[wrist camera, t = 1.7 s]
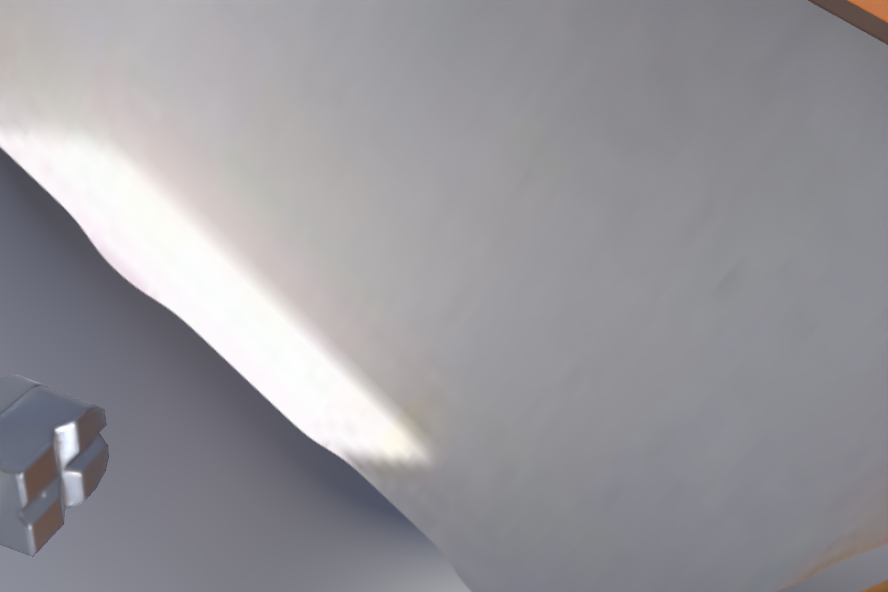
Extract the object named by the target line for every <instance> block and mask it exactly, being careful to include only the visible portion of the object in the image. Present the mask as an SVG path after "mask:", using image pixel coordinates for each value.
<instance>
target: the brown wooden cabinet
mask: <svg viewBox="0 0 888 592" xmlns="http://www.w3.org/2000/svg"><path fill="white" fill-rule="evenodd" d="M808 1H810V2H812V3H814V4H815V5H817V6H819V7H821V8H823V9H824V10H826V11H828V12H830V13H832V14H833V15H835V16H837V17H839V18H841V19H842V20H844V21H846V22H848V23H850V24H851V25H853V26H855V27H857V28H859V29H860V30H862V31H864V32H866V33H868V34H869V35H871V36H873V37H875V38H877V39H878V40H880V41H882V42H884V43H886V44H887V45H888V23H887V22H885V21H883V20H882V19H880V18H878V17H876V16H874V15H873V14H871V13H869V12H867V11H866V10H864V9H862V8H860V7H858V6H857V5H855V4H853V3H851V2H849V1H848V0H808Z"/></svg>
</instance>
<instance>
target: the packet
mask: <svg viewBox="0 0 888 592" xmlns="http://www.w3.org/2000/svg"><path fill="white" fill-rule="evenodd" d="M848 1H849V2H851V3H853V4H855V5H857V6H858V7H860V8H862V9H864V10H866V11H867V12H869V13H871V14H873V15H874V16H876V17H878V18H880V19H882V20H883V21H885V22H887V23H888V0H848Z"/></svg>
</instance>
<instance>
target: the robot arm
mask: <svg viewBox="0 0 888 592" xmlns="http://www.w3.org/2000/svg"><path fill="white" fill-rule="evenodd" d="M105 426H106V417H105V410H104V409H102V408H100V407H98V406H95V405H93V404H90V403H88V402H85V401H83V400H80V399H78V398H75V397H73V396H70V395H68V394H66V393H63V392H61V391H58V390H56V389H53V388H50V387H48V386H46V385H43V384H40V383H38V382H35V381H33V380H30V379H27V378H25V377H22V376H20V375H17V374H13V375H9V376H6V377H3V378H1V379H0V545H2V546H5V547H8V548H10V549H13V550H16V551H18V552H21V553H24V554H27V555H29V556H32V557H33V556H35V554H36V553H37V552H38V551H39V550H40V549H41V548H42V547H43V546H44V544H46V543H47V542H48V540H49V539H50V538H51V537H52V536H53V535H54V534H55V533H56V532H57V531H58V530H59V529H60V528H61V526H62V525H63V524H64V517H65V509H67V508H70V507H72V506H75V505H78V504H80V503H83V502H84V501H85V500H86V499H87V498H88V497H89V496H90V495H91V493H92V492H93V491H94V490H95V489H96V488H97V486H98V484H99V482H100V480H101V478H102V476H103V475H104V473H105V471H106V467H107V463H108V458H109V453H108V445H107V443H106V442H105V440H104V439H103V438H102V436H101V435H100V433H99V432H100V431H101V430H102V429H103V428H104V427H105Z"/></svg>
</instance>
